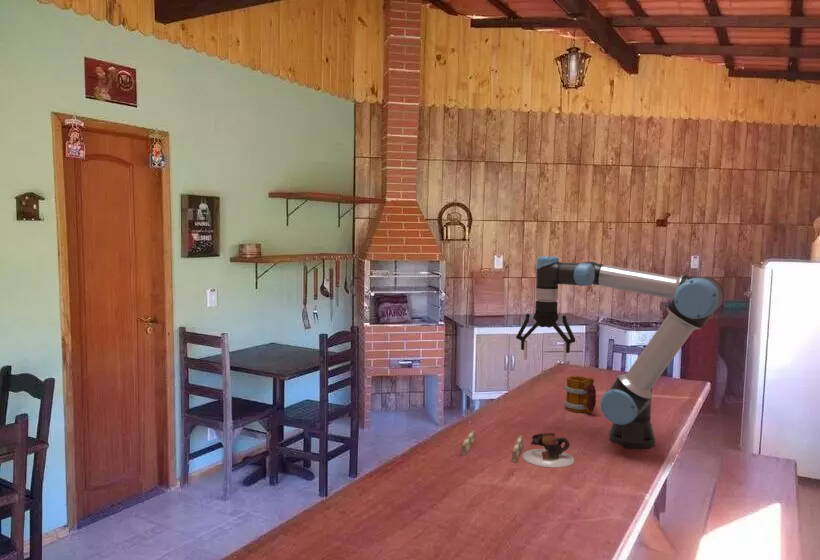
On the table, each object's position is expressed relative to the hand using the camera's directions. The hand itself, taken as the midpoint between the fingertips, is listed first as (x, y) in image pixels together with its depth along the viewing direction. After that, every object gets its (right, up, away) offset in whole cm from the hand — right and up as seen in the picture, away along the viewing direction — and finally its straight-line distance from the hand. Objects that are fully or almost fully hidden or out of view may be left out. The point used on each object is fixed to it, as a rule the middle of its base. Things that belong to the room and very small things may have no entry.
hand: (544, 360), depth 221 cm
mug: (+22, -25, +33) cm, 47 cm away
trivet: (-3, -28, -21) cm, 35 cm away
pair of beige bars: (-20, -28, -15) cm, 37 cm away
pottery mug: (-2, -29, -21) cm, 36 cm away
